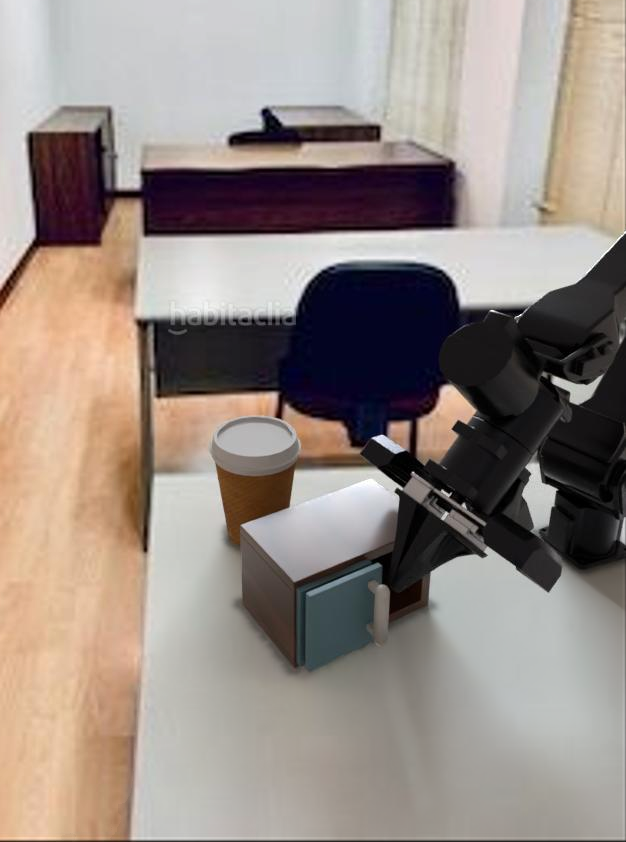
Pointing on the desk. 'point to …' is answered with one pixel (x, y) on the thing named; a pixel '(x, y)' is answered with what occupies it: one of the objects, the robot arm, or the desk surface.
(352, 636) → the sliding door
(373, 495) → the cabinet
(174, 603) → the desk surface
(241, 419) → the disposable coffee cup
